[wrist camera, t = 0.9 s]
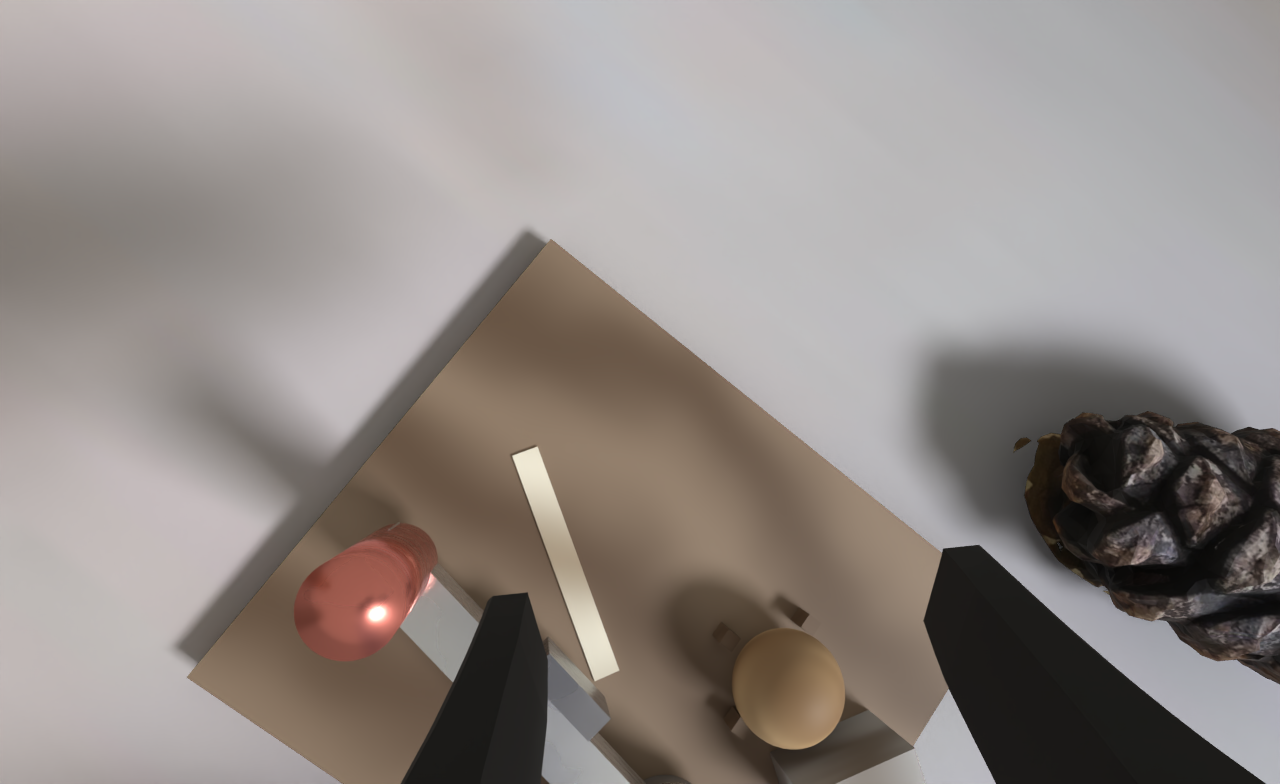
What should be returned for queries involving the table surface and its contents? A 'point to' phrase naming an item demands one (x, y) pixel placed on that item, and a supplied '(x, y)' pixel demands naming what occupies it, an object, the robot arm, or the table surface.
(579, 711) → the lever
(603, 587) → the base
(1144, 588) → the pine cone
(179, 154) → the table surface
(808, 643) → the tan round ball
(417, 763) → the robot arm
